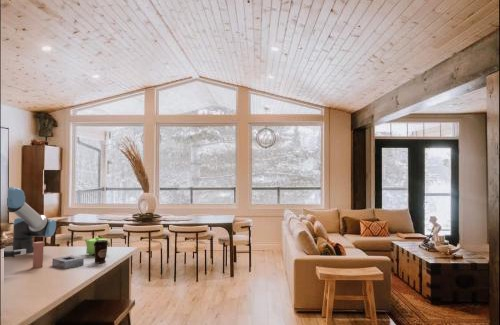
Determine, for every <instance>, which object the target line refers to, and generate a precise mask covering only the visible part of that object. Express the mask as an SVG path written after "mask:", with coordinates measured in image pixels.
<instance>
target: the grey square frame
mask: <svg viewBox="0 0 500 325" xmlns="http://www.w3.org/2000/svg"><path fill="white" fill-rule="evenodd" d="M84 259H85V258H83V257H80V256H76V255H66V256H60V257H54V258H52V264H51V265H52V267H55V268H60V269H63V270H66V269H71V268H76V267H81V266H84V264H85V263H84Z"/></svg>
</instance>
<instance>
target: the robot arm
mask: <svg viewBox="0 0 500 325" xmlns="http://www.w3.org/2000/svg"><path fill="white" fill-rule="evenodd" d="M7 187H8V186H7ZM7 206H8V211H7V213H13V214H14V215H16V216H17V217H16V218H15V219H14V220H13V232H12V233H13V234H12V237H13V238H12V242H11V245H9V246H8V245H7V246H5V247H6V248H5V249H4V257H3V258H15V256H22V255H27V254H31V253H33V252H34V247H33V242H35V241H34V237H39V238H41V237H43V238H51V237H52V236H54V234H55V232H56V229H57V223H56V220H55V219H52V218H51V219H49V218H47V217H46V216H45V215H43V214H40V213H39V212H37V211H36V210H35V209H34V208H32V207H31V206H30V205H29V204H28V203H27V202H26V195H25V192H24V190H23V189H21V188H18V187H14V186H10V187H8V198H7Z"/></svg>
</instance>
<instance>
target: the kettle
mask: <svg viewBox="0 0 500 325" xmlns="http://www.w3.org/2000/svg"><path fill="white" fill-rule="evenodd" d="M83 240H84V241H85V244H86V254H88V256H93V255H95V254H94V253H95V252H94V243H95V241H98V240H107V241H108V238H100V237H99V236H98V237H97V236H95V238H90V239H89V240H88V239H87V238H83ZM107 243H108V245H109V244H110V241H108V242H107Z"/></svg>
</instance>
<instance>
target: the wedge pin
mask: <svg viewBox="0 0 500 325" xmlns="http://www.w3.org/2000/svg"><path fill="white" fill-rule="evenodd" d="M45 246H46V243H45V241H43V240H42V241H36V242H35V241H34V242H33V247H34V252H32V253H33V257H32V268H35V269H38V268H43V263H44V247H45Z"/></svg>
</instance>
